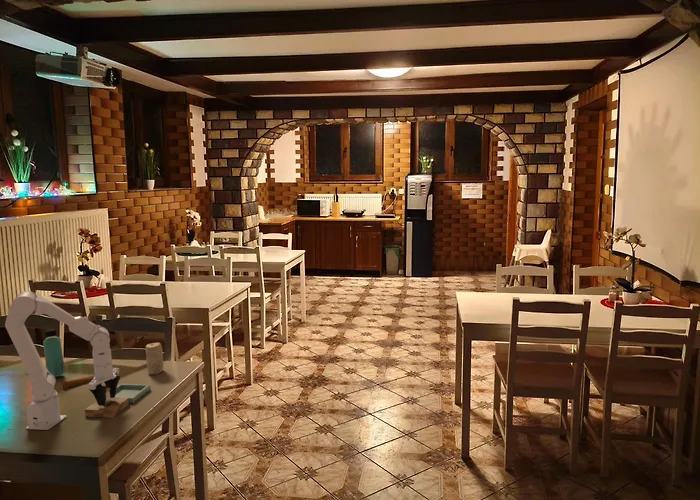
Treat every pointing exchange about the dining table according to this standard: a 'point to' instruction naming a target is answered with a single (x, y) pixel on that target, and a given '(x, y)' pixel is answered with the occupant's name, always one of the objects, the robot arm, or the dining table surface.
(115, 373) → the robot arm
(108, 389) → the pin
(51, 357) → the beverage bottle
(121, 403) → the socket block
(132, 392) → the tray
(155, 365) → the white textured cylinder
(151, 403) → the dining table surface
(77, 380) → the primitive tool
